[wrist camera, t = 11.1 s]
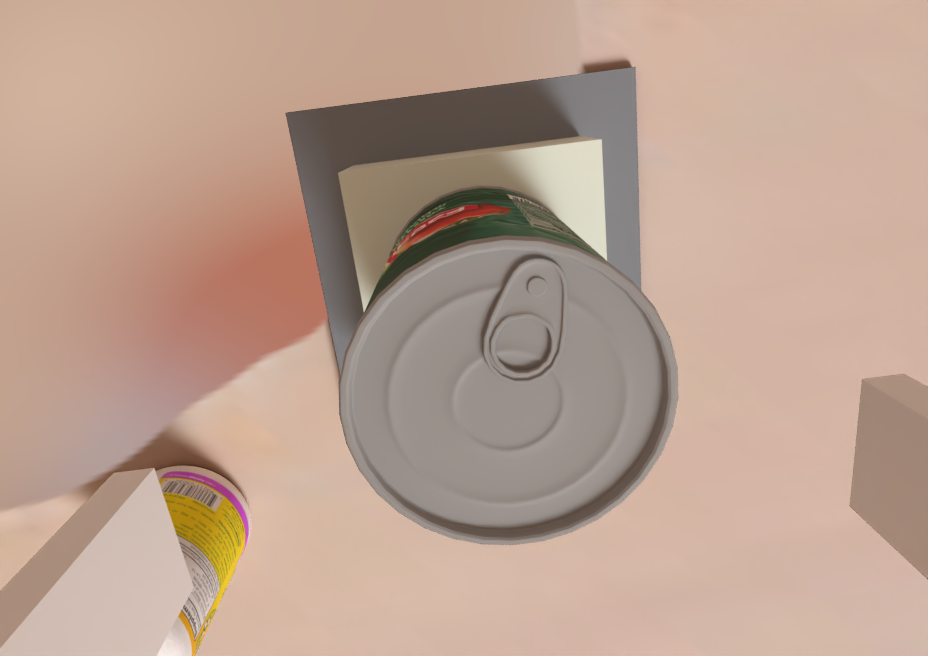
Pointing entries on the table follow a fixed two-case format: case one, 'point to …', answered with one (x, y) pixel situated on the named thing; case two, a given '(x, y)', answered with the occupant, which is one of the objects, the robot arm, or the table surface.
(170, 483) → the supplement bottle
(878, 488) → the robot arm
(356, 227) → the cream base block
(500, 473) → the canned tomato
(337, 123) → the grey flat square
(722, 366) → the table surface
